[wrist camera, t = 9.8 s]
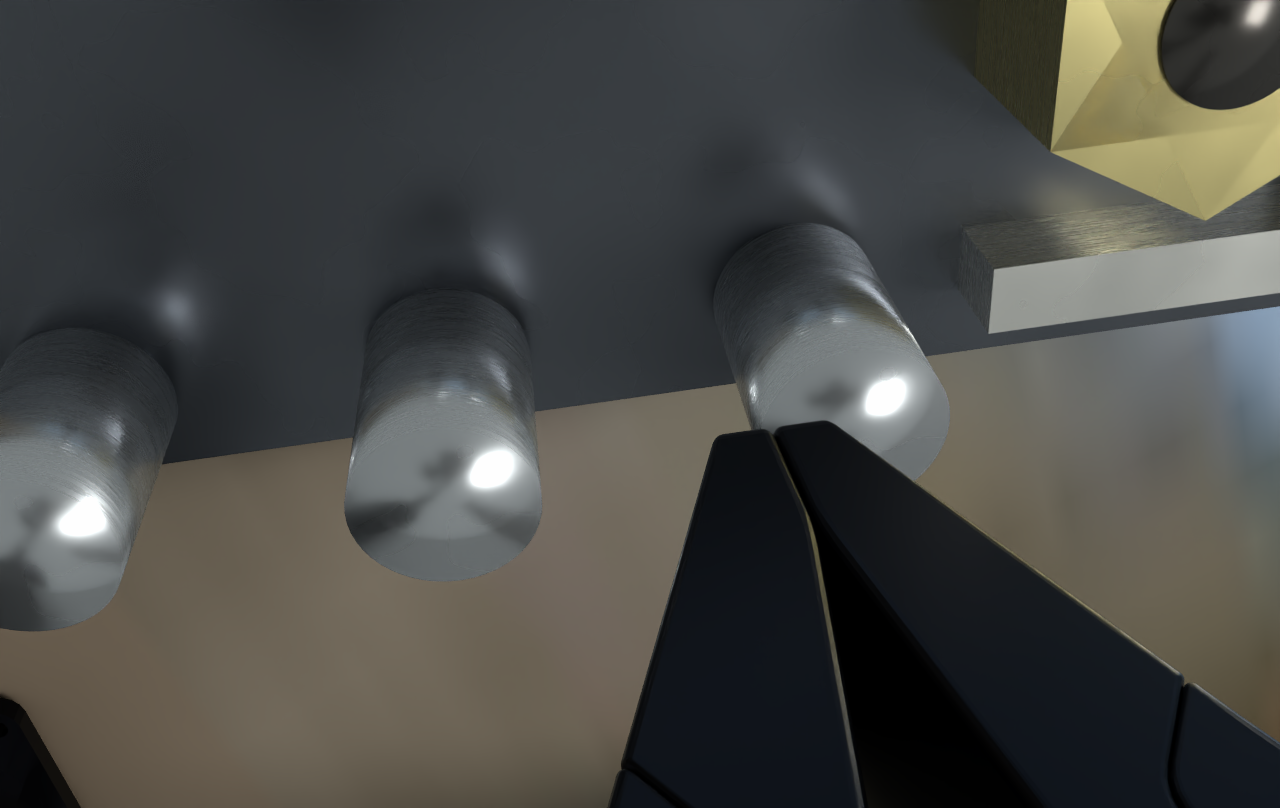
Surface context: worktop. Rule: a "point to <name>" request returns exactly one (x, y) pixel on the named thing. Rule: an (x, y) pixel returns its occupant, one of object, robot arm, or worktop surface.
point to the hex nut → (1144, 90)
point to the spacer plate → (515, 247)
